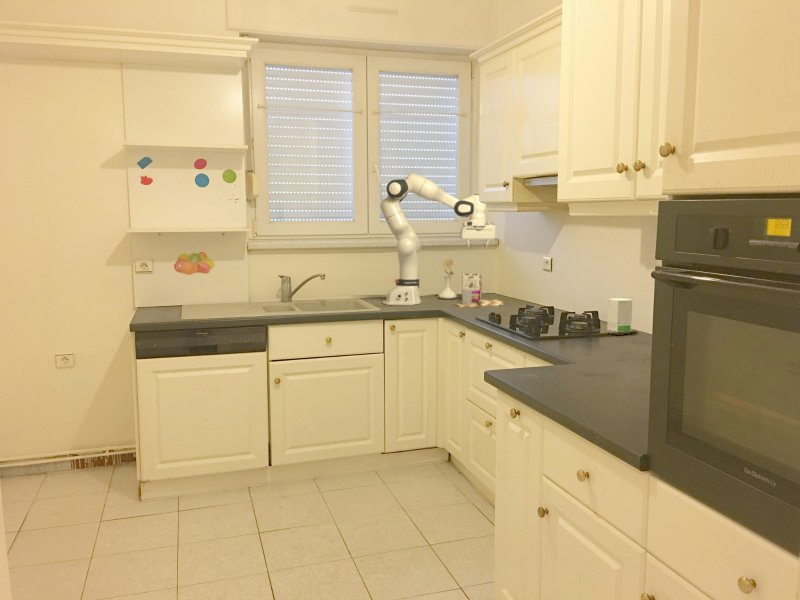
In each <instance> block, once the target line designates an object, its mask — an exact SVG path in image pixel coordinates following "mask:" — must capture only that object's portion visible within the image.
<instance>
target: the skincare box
mask: <svg viewBox="0 0 800 600" xmlns="http://www.w3.org/2000/svg"><path fill="white" fill-rule="evenodd" d="M607 307H608V308H607V327H606V331H607V330H611V331H616V332H619V331H631V332H632V317H633V316H632V312H633V311H632V310H633V299H629V298H619V297H618V298H608V305H607Z"/></svg>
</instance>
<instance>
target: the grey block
mask: <svg viewBox="0 0 800 600" xmlns="http://www.w3.org/2000/svg"><path fill="white" fill-rule="evenodd" d="M461 294H462V295H461V303H462V305H472V303H473V301H472V291H462V290H461Z"/></svg>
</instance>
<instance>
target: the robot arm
mask: <svg viewBox="0 0 800 600" xmlns="http://www.w3.org/2000/svg"><path fill="white" fill-rule="evenodd" d="M408 193H412V194H414V195H416V196H418V197H419V198H422V199H425V200H426V201H427V200H428V201H432V202H438V203H441V204H443V205H444V206H446V207H448V208H450V209H452V210H454V213H455V214H456V215H457V216H458V217H461V218H468V217H469V218H470V219H469V220H466V221H462V222H461V224H462V226H461V228H460V232H459V238H460V240H465V242H466V243H467V247H468V248H472V243H470V240H485V241H486V242H485V243H484V244H483V248H488V244H489V242H490V240H495V239H496V230H497V229H496V224H495V223H494V222H487V216H486V212H487V203H486V204H484V203H481V202H480V201H479V195H480V194H477V193H473V194H471V195H470V196H468V197H465V198H464V199H459V198H456V197H455V196H453V195H451V194H449V193H447V192H446V191H444V190H443V189H441V188H440V186H439V185H437V184H436V183H435V182H434V181H432V180H431V179H429V178H427V177H425V176H422V175H420V174H417V173H412V172H411V173H409V174H408V175H407V176H406V177H405V179H403V178H402V179H401V178H400V179H396V178H395V179H391V181H389V182H388V184H387V185H386V194H387V197H386V198H384V199H382V200H381V202H380V210H381V212H382V215H383V217H384V220H385V221H386V224H387V225H388V227H389V229H390V231H391V233H392V234H393V235H394V237H395V239H396V240H397V243H396V250H397V256H398V264H399V278H398V279H396V278H395V279H394V283H395V286H394V287H392V288H391V289H390V290H388V291H387V293H386V299H384V300H382V304H384V305H388V306H390V305H391V306H414V305H418V304H422V300H421V296H420V279H419V272H420V271H419V270H420V269H419V262H418V261H419V260H418V255H417V253H419V252H420V250H421V247H422V243H421V240H420V239H419V237H418V236H417V234H416V232H415V230H414V229H413V228H412V226H411V225H410V223H409V221H408V219H407V217H406V215H405V213H404V211H403V210H402V208H401V205H400V203H401V202H402V201H403V200H404V199H405V198H406V197H407V196H408Z"/></svg>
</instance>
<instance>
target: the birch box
mask: <svg viewBox="0 0 800 600" xmlns="http://www.w3.org/2000/svg"><path fill="white" fill-rule="evenodd" d="M477 305H479V306H480V305H481V306H480V307H493V306H494V307H499V305H503V306H504V301H503V300H501V299H481V300H478V302H477Z"/></svg>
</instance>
